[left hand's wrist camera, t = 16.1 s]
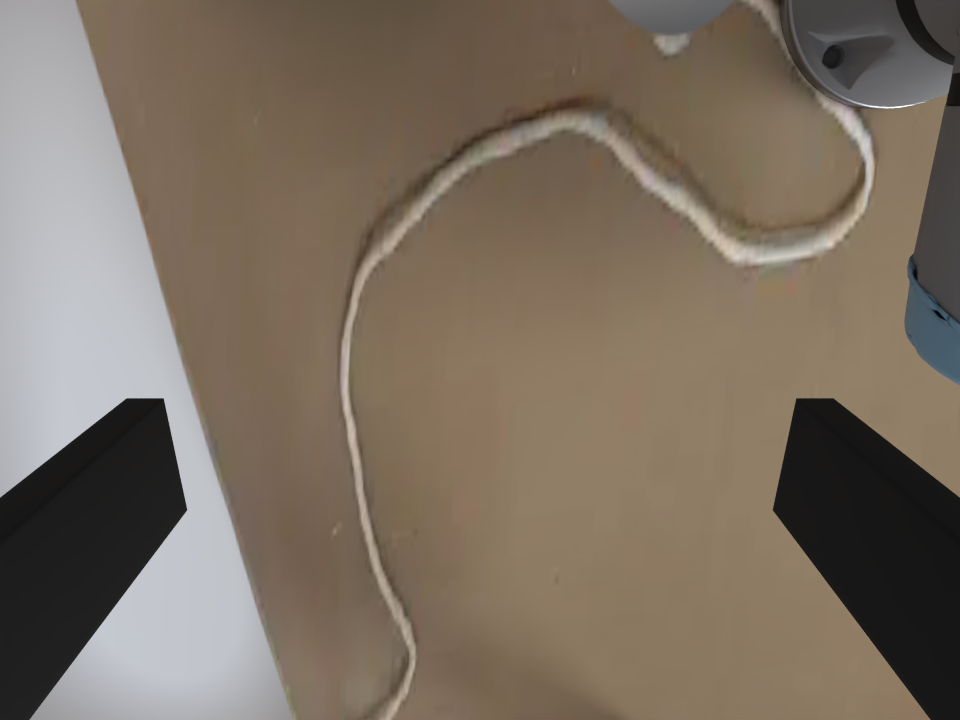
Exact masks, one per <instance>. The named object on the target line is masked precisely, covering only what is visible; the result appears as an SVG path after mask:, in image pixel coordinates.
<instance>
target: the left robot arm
mask: <svg viewBox="0 0 960 720" xmlns="http://www.w3.org/2000/svg"><path fill="white" fill-rule="evenodd" d="M780 15H781V23H782V30H783V34H784V38H785V42H786V44H787V47H788V50H789V53H790V55H791V57H792V59H793V61H794V63H795V64H796V66H797V67H798V69H799V71H800V72H801V73H802V75H803V76H804V77H805V78H806V79H807V81H808V82H809V83H811V84H812V85H813V86H814V87H815V88H816V89H817V90H819V91H820V92H821V93H823V94H824V95H826V96H828V97H829V98H831V99H833V100H835V101H838V102H840V103H842V104H846V105H849V106H853V107H859V108H871V109H879V108H899V107H906V106H912V105H915V104H919V103H923V102H926V101H929V100H932V99H935V98H937V97H940V96H942V95H945V94H947V93H948V97H947V102H946V106H945V109H944V114H943V118H942V123H941V128H940V133H939V137H938V142H937V147H936V151H935V156H934V161H933V166H932V170H931V175H930V180H929V185H928V189H927V194H926V199H925V204H924V208H923V213H922V218H921V222H920V227H919V232H918V237H917V241H916V246H915V251H914V254H913V255H912V256H911V257H910V258H909V262H908V267H907V271H908V278H909V281H910V285H909V292H908V299H907V306H906V313H905V330H906V334H907V337H908V339H909V340H910V342H911V343H912V345H913V346H914V347H915V348H916V350H917V353H918V354H919V356H920V357H921V358H922V359H923V360H924V361H925V362H927V363H928V364H929V365H930V366H931V367H932V368H934V369H935V370H936V371H938V372H939V373H940V374H942V375H943V376H945V377H947V378H948V379H950V380H951V381H953V382H955V383H957V384H958V385H960V0H780ZM186 511H187V507H186V502H185V498H184V493H183V488H182V483H181V479H180V474H179V469H178V464H177V460H176V455H175V450H174V446H173V441H172V436H171V431H170V426H169V422H168V417H167V412H166V408H165V403H164V399H162V398H157V399H156V398H154V399H153V398H152V399H151V398H144V399H143V398H139V399H138V398H135V399H133V398H130V399H129V398H127V399H125V400H124V401H123V402H122V403H120V404H119V405H118V406H116V407H115V408H114V409H113V410H111V411H110V412H109V413H108V414H106V415H105V416H104V417H102V418H101V419H100V420H99V421H97V422H96V423H95V424H94V425H92V426H91V427H90V428H89V429H87V430H86V431H85V432H83V433H82V434H81V435H80V436H78V437H77V438H76V439H74V440H73V441H72V442H71V443H69V444H68V445H67V446H66V447H64V448H63V449H62V450H60V451H59V452H58V453H57V454H55V455H54V456H53V457H51V458H50V459H49V460H48V461H46V462H45V463H44V464H43V465H41V466H40V467H39V468H37V469H36V470H35V471H34V472H32V473H31V474H30V475H29V476H27V477H26V478H25V479H23V480H22V481H21V482H20V483H18V484H17V485H16V486H15V487H13V488H12V489H11V490H10V491H8V492H7V493H6V494H4V495H3V496H2V497H1V498H0V720H29V719H30V718H31V717H32V715H33V714H34V713H35V711H36V710H37V709H38V707H39V706H40V705H41V703H42V702H43V701H44V700H45V698H46V697H47V696H48V694H49V693H50V692H51V690H52V689H53V687H54V686H55V685H56V684H57V682H58V681H59V680H60V678H61V677H62V676H63V674H64V673H65V672H66V670H67V669H68V668H69V666H70V665H71V664H72V662H73V661H74V660H75V658H76V657H77V656H78V654H79V653H80V652H81V650H82V649H83V648H84V646H85V645H86V644H87V642H88V641H89V640H90V638H91V637H92V636H93V634H94V633H95V632H96V630H97V629H98V628H99V626H100V625H101V624H102V622H103V621H104V620H105V619H106V617H107V616H108V614H109V613H110V612H111V611H112V609H113V608H114V607H115V605H116V604H117V603H118V601H119V600H120V599H121V597H122V596H123V595H124V593H125V592H126V591H127V589H128V588H129V587H130V585H131V584H132V583H133V581H134V580H135V579H136V577H137V576H138V575H139V573H140V572H141V571H142V569H143V568H144V567H145V565H146V564H147V563H148V561H149V560H150V559H151V557H152V556H153V555H154V553H155V552H156V551H157V549H158V548H159V547H160V545H161V544H162V543H163V541H164V540H165V539H166V538H167V536H168V535H169V534H170V532H171V531H172V530H173V528H174V527H175V526H176V524H177V523H178V522H179V520H180V519H181V517H182V516H183V515H184V514H185V512H186ZM773 511H774V512H775V514H776V515H777V516H778V518H779V519H780V520H781V522H782V523H783V524H784V526H785V527H786V528H787V530H788V531H789V532H790V534H791V535H792V536H793V538H794V539H795V540H796V541H797V543H798V544H799V545H800V547H801V548H802V549H803V551H804V552H805V553H806V555H807V556H808V557H809V559H810V560H811V561H812V563H813V564H814V565H815V567H816V568H817V569H818V571H819V572H820V573H821V575H822V576H823V577H824V579H825V580H826V581H827V583H828V584H829V585H830V587H831V588H832V589H833V591H834V592H835V593H836V595H837V596H838V597H839V599H840V600H841V601H842V603H843V604H844V605H845V607H846V608H847V609H848V611H849V612H850V613H851V615H852V616H853V617H854V619H855V620H856V621H857V623H858V624H859V625H860V626H861V628H862V629H863V630H864V632H865V633H866V634H867V636H868V637H869V638H870V640H871V641H872V642H873V644H874V645H875V646H876V648H877V649H878V650H879V652H880V653H881V654H882V656H883V657H884V658H885V660H886V661H887V662H888V664H889V665H890V666H891V668H892V669H893V670H894V672H895V673H896V674H897V676H898V677H899V678H900V680H901V681H902V682H903V684H904V685H905V686H906V688H907V689H908V690H909V692H910V693H911V694H912V696H913V697H914V698H915V700H916V701H917V702H918V704H919V705H920V706H921V708H922V709H923V710H924V711H925V713H926V714H927V715H928V717H929V718H930V719H931V720H960V498H959V497H958V496H957V495H956V494H954V493H953V492H952V491H951V490H949V489H948V488H947V487H945V486H944V485H943V484H942V483H940V482H939V481H938V480H937V479H935V478H934V477H933V476H931V475H930V474H929V473H928V472H926V471H925V470H924V469H923V468H921V467H920V466H919V465H917V464H916V463H915V462H914V461H912V460H911V459H910V458H909V457H907V456H906V455H905V454H903V453H902V452H901V451H900V450H898V449H897V448H896V447H895V446H893V445H892V444H891V443H889V442H888V441H887V440H886V439H884V438H883V437H882V436H880V435H879V434H878V433H877V432H875V431H874V430H873V429H872V428H870V427H869V426H868V425H866V424H865V423H864V422H863V421H861V420H860V419H859V418H858V417H856V416H855V415H854V414H852V413H851V412H850V411H849V410H847V409H846V408H845V407H844V406H842V405H841V404H840V403H838V402H837V401H836V400H835V399H833V398H796V403H795V408H794V412H793V417H792V422H791V426H790V431H789V436H788V441H787V445H786V450H785V455H784V460H783V464H782V469H781V474H780V478H779V483H778V488H777V493H776V497H775V502H774V507H773Z"/></svg>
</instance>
